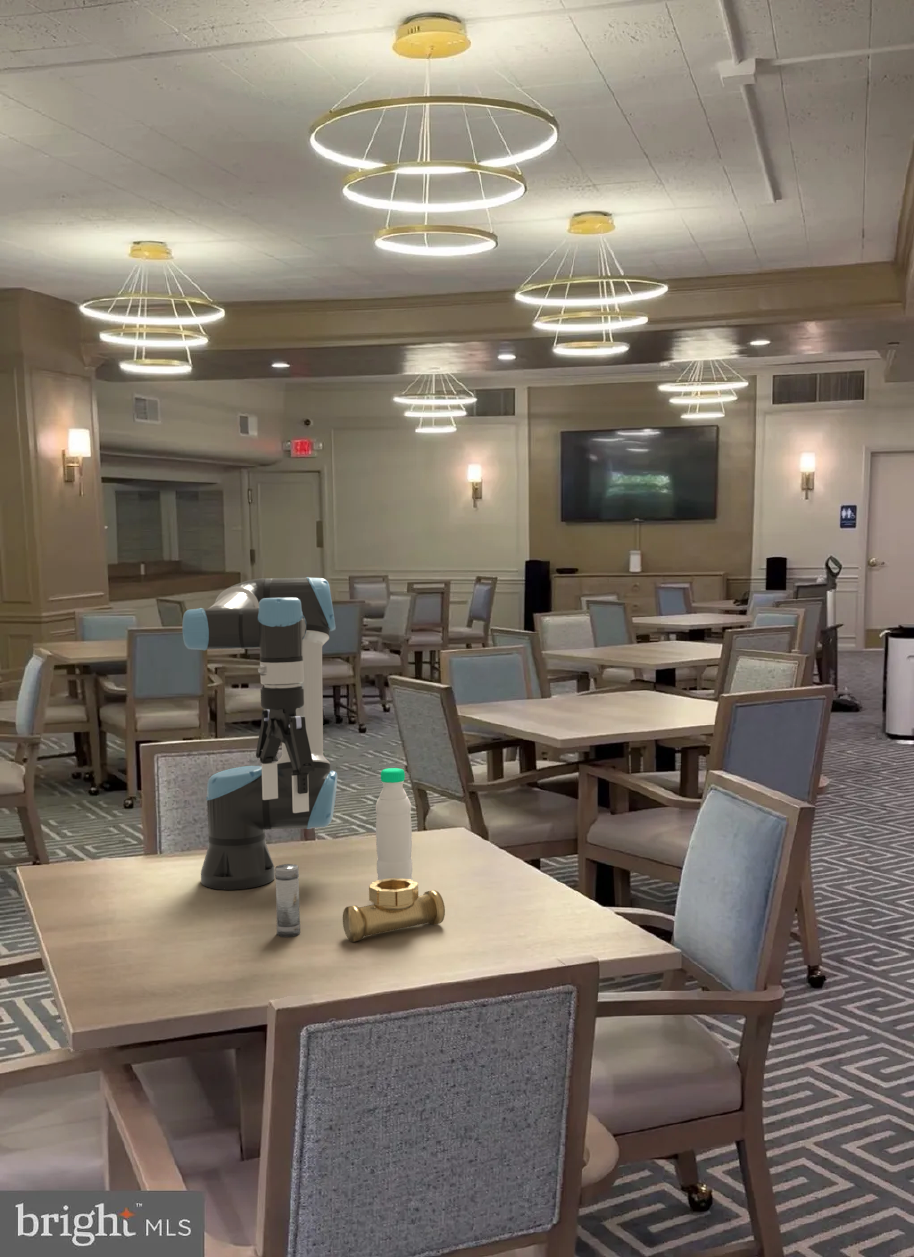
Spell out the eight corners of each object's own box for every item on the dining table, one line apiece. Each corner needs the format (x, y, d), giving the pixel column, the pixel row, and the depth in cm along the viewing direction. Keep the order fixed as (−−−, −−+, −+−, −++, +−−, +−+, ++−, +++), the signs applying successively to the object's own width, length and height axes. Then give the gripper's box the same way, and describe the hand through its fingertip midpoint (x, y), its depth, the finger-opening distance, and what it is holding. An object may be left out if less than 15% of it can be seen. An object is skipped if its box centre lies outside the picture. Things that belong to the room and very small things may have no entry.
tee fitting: (361, 947, 194) (360, 898, 193) (340, 934, 201) (339, 887, 200) (448, 929, 203) (447, 882, 202) (425, 917, 210) (424, 871, 209)
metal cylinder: (273, 932, 203) (271, 866, 202) (294, 928, 205) (292, 862, 204) (282, 939, 199) (280, 871, 198) (303, 934, 201) (302, 867, 201)
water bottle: (408, 900, 220) (405, 773, 219) (373, 899, 222) (370, 772, 220) (416, 890, 227) (414, 766, 226) (382, 888, 229) (380, 765, 227)
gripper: (236, 681, 208) (239, 796, 209) (290, 692, 187) (294, 820, 188) (274, 678, 212) (277, 791, 213) (332, 689, 191) (335, 814, 192)
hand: (285, 805), depth 200 cm, fingers open, 13 cm apart
